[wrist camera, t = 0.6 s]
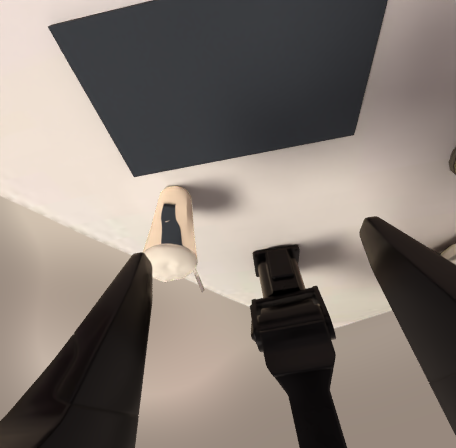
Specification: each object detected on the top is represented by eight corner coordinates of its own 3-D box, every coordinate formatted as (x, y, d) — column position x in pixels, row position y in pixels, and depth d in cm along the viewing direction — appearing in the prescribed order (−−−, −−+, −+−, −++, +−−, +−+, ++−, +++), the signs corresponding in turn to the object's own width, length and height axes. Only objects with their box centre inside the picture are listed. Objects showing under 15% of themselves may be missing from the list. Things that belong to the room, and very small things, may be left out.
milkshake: (192, 219, 28) (191, 302, 21) (147, 204, 25) (128, 291, 19) (212, 193, 25) (217, 278, 18) (162, 173, 23) (148, 262, 16)
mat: (351, 131, 21) (354, 135, 21) (135, 173, 22) (133, 177, 22) (396, -59, 13) (403, -60, 12) (51, 24, 14) (46, 26, 14)
